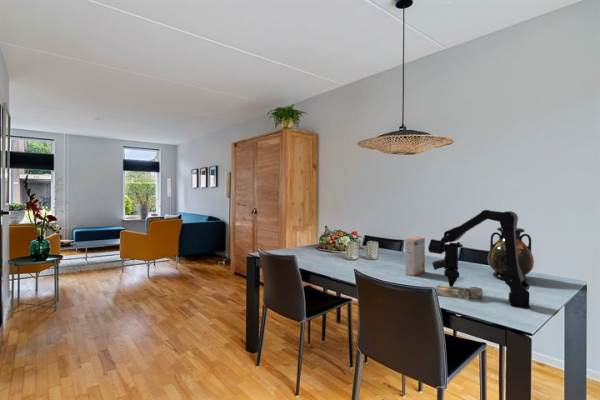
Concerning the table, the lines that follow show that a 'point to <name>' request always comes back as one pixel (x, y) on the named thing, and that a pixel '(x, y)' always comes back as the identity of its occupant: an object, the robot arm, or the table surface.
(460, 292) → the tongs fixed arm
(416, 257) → the cracker box
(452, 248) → the robot arm
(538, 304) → the table surface
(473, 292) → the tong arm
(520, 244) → the amphora vase
